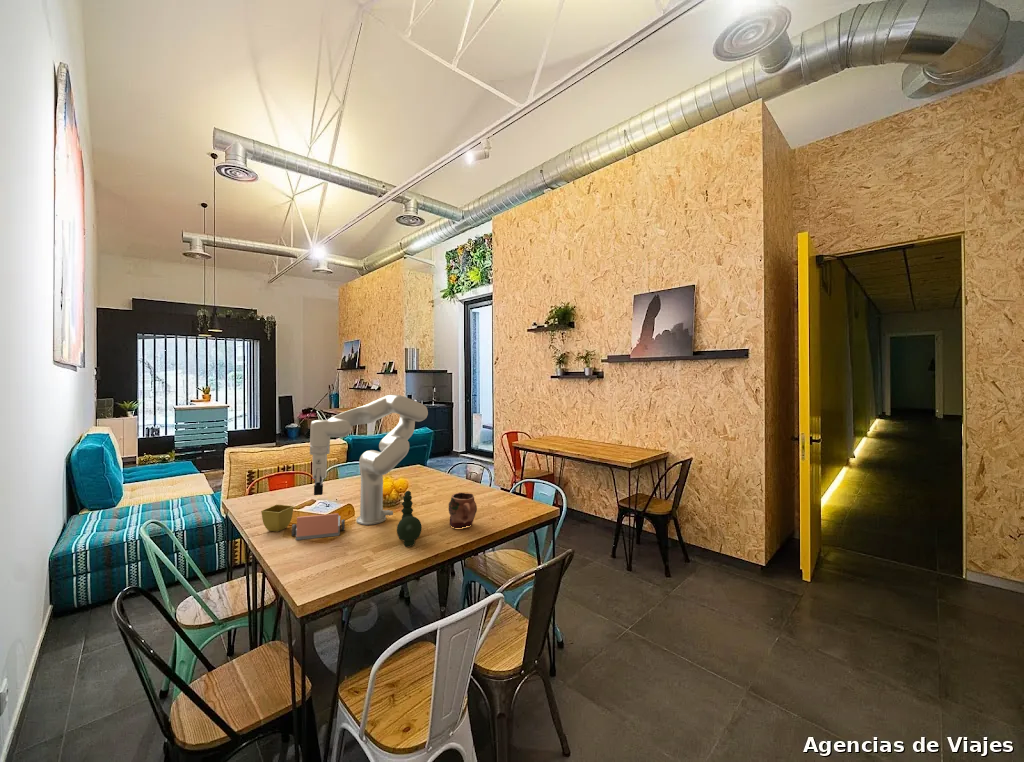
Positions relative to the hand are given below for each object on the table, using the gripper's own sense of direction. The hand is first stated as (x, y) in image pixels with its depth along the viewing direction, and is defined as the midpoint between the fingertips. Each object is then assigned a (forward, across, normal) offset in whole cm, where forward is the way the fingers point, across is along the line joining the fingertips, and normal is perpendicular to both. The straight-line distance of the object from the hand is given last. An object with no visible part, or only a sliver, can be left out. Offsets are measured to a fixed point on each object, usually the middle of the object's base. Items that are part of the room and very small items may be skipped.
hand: (318, 494), depth 174 cm
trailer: (+16, +3, -1) cm, 16 cm away
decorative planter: (+15, -11, -59) cm, 62 cm away
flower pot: (+16, +10, +16) cm, 25 cm away
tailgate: (+15, -6, -1) cm, 16 cm away
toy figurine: (+16, -18, -35) cm, 42 cm away
